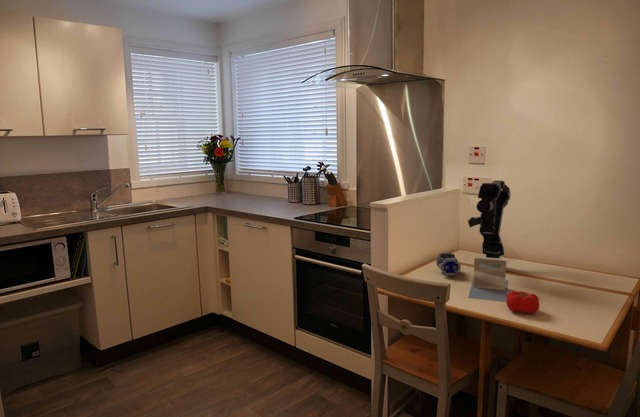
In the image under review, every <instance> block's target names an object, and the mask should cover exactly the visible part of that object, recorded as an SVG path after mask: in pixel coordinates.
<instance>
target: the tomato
mask: <svg viewBox="0 0 640 417" xmlns="http://www.w3.org/2000/svg"><path fill="white" fill-rule="evenodd" d="M505 303H506V305H507V307H508V310H509V311H512V312H514V313H524V314H527V315H530V314H531V315H533V314H535V313H537V312H538V311H539V309H540V299H539V297H538V295H537V294H535V293H529V292H526V291H523V290H522V291H521V290H519V291H517V290H512V291H510V292H508V295H507V298H506V302H505Z"/></svg>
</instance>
